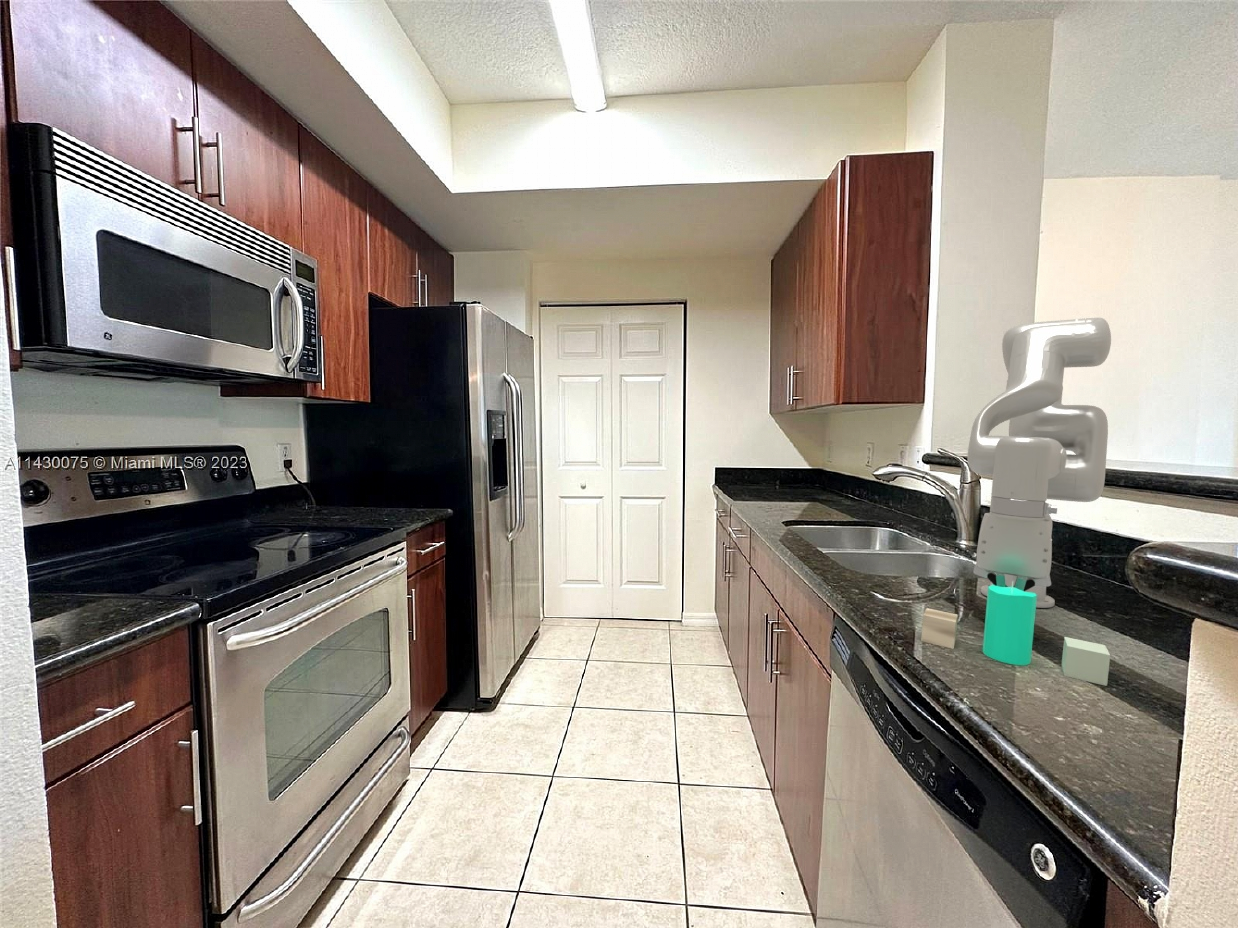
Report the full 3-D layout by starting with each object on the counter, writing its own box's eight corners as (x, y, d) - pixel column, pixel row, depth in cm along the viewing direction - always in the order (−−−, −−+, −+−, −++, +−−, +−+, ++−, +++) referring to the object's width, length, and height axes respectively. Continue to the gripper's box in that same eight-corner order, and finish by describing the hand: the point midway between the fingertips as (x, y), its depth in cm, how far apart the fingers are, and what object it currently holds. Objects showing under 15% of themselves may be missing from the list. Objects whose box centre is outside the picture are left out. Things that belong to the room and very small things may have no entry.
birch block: (924, 633, 88) (926, 608, 88) (955, 640, 86) (957, 614, 85) (921, 641, 85) (923, 614, 85) (953, 649, 82) (955, 621, 82)
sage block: (1061, 665, 78) (1064, 636, 77) (1101, 675, 75) (1105, 645, 75) (1064, 676, 74) (1067, 645, 74) (1106, 686, 71) (1110, 655, 71)
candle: (1039, 667, 76) (1047, 588, 76) (994, 662, 78) (1001, 584, 77) (1017, 651, 82) (1023, 577, 82) (975, 646, 84) (981, 573, 83)
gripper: (1072, 512, 87) (1061, 618, 88) (966, 502, 96) (957, 598, 97) (1077, 517, 81) (1066, 631, 82) (963, 505, 90) (954, 608, 91)
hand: (1007, 613), depth 89 cm, fingers closed
